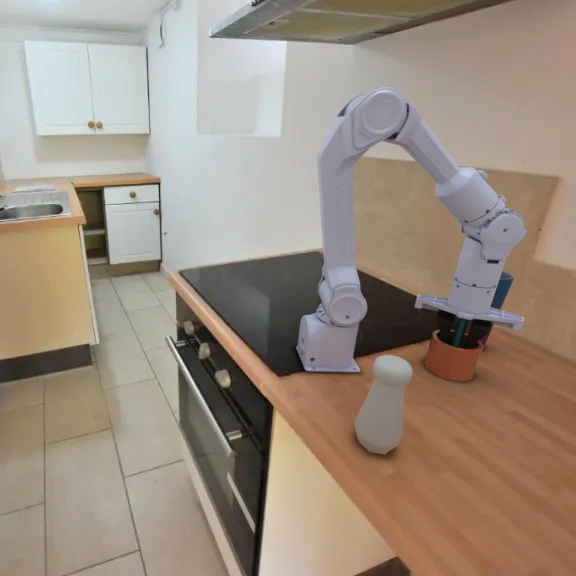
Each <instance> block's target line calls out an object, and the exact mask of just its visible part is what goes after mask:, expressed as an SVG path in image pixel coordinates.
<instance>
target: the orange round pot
mask: <svg viewBox="0 0 576 576" xmlns="http://www.w3.org/2000/svg"><path fill="white" fill-rule="evenodd" d="M454 332H455V329H451V332H450V337H449V343H448V344H446V343H444V342H442V341H441V335H440V331H439V329H437V330H434V331H433V332H432V334H431V338H430V340H429V345H428V348H427V352H426V356H425V362H424V366H425V367H426V369H428V371H430V372H431V373H432V374H434V375H436V376H438V377H439V378H443V379H446V380H449V381H455V382H467V381H470V380H472V379H473V378H474V375H475V373H476V371H477V367H478V365H479V361H480V359H481V355H482V353H483V349H484V348H483V344H482V342H481V341H480V340H479V341H478V342H477V343H476V344H475V345H474V346H473V347H472V348H471V349H463V348H462V347H463V345H464V343H465V340H466V338H467V336H468V334H466V333H465V334H464V337H463V341H462V344H461V347H460V348H457V347H454V346H451V342H452V339H453V336H454Z"/></svg>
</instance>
